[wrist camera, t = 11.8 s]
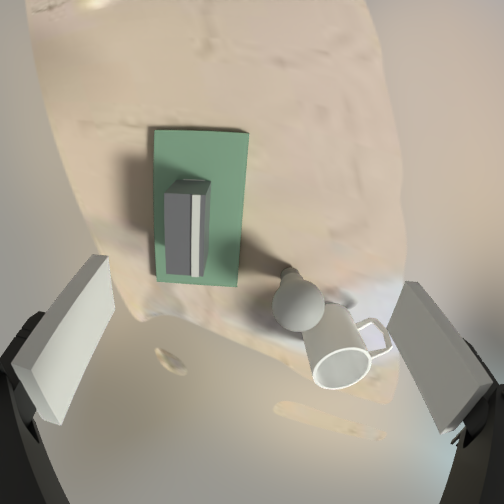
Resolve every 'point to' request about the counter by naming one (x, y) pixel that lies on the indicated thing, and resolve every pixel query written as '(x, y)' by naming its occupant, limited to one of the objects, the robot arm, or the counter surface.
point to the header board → (221, 201)
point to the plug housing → (187, 227)
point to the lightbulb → (297, 302)
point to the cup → (340, 348)
